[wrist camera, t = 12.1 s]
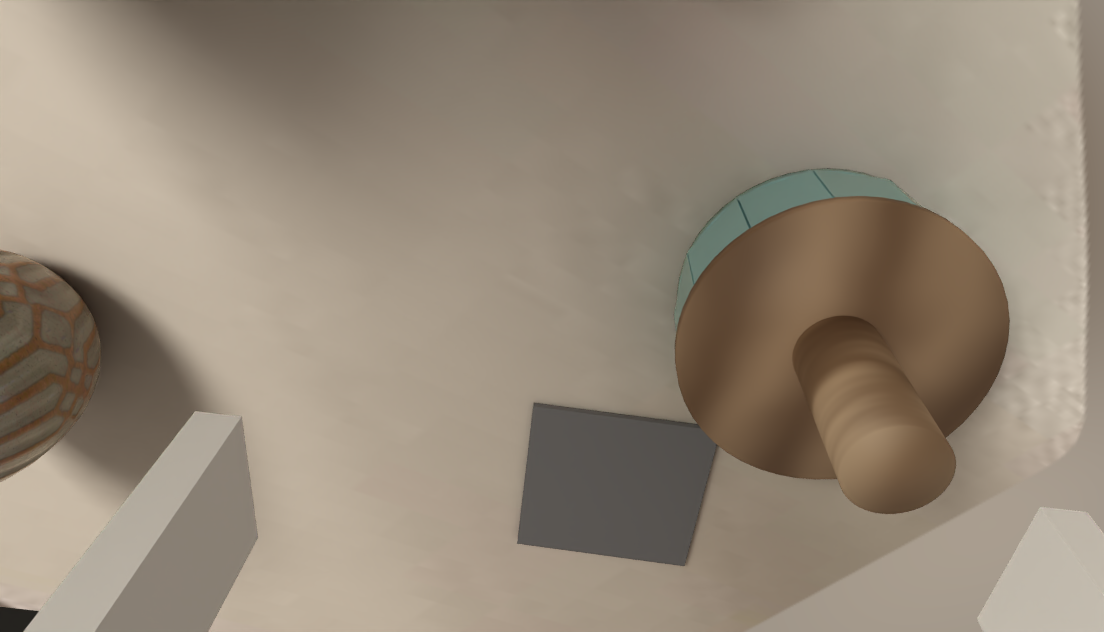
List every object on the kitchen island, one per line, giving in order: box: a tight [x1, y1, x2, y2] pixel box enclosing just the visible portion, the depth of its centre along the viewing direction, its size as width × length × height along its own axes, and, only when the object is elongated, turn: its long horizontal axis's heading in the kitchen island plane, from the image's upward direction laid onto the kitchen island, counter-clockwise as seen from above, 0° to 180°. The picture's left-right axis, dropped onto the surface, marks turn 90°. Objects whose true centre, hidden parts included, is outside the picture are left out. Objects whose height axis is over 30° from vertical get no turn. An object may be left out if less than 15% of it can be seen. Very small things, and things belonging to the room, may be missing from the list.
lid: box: [675, 196, 1010, 514], centre depth 34 cm, size 16×16×10 cm
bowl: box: [674, 168, 922, 332], centre depth 41 cm, size 15×15×6 cm
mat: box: [517, 403, 717, 566], centre depth 51 cm, size 12×12×1 cm
